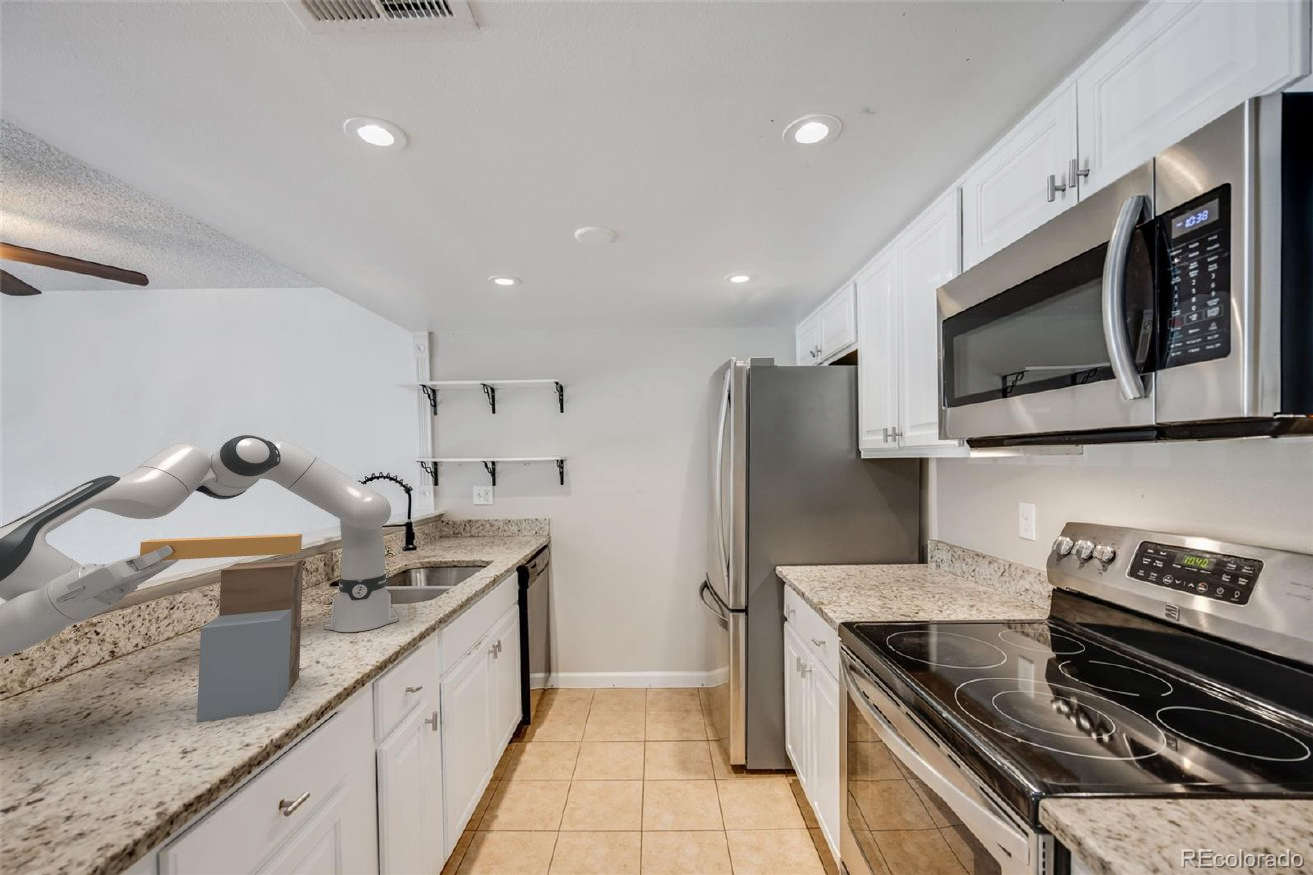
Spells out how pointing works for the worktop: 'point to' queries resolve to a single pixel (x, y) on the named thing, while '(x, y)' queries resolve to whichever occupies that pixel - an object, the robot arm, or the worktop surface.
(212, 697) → the slate block
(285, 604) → the walnut stand
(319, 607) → the worktop surface
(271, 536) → the orange block
